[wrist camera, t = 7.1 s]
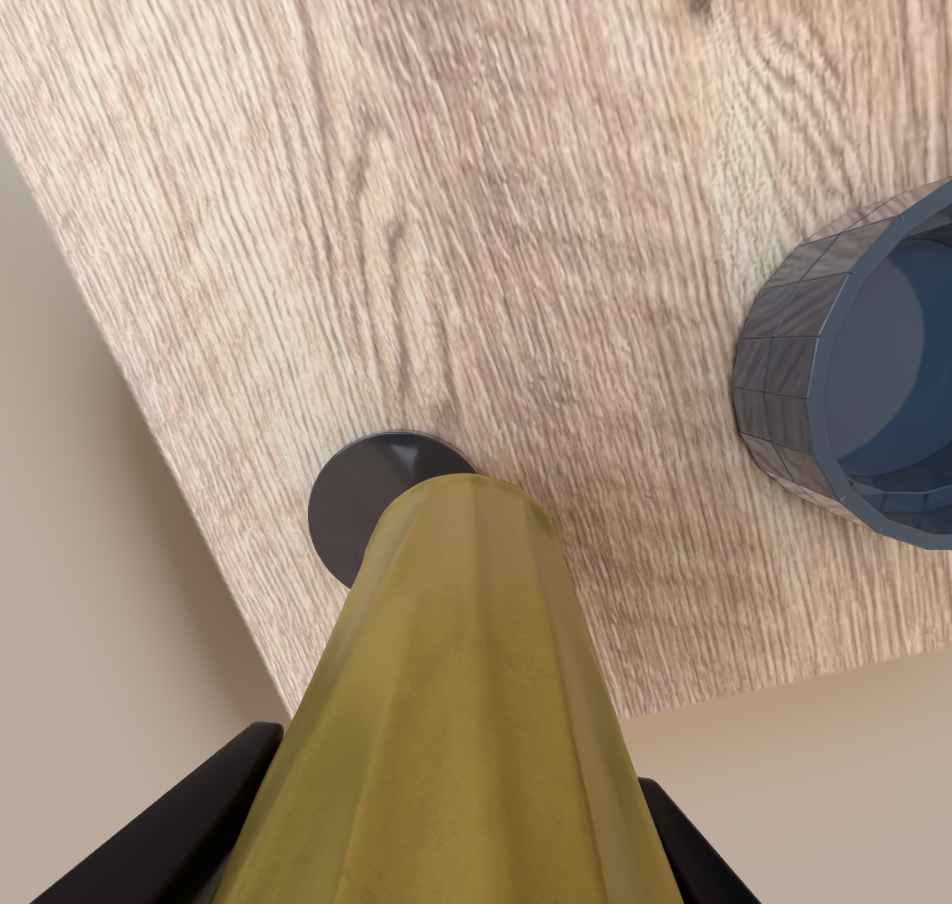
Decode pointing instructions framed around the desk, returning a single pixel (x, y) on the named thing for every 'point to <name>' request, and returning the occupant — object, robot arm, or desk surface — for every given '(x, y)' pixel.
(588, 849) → the vase
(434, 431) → the desk surface
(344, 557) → the coaster
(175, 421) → the desk surface
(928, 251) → the bowl
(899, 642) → the desk surface
